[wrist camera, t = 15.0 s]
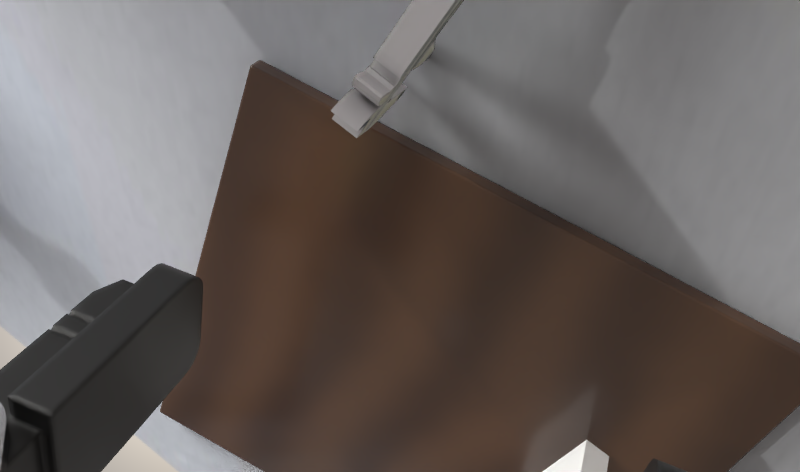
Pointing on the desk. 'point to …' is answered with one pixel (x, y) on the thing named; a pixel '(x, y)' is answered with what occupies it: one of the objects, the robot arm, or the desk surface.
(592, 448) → the eraser
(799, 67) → the desk surface
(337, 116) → the caliper
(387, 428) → the walnut board
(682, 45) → the desk surface
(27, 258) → the desk surface
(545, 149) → the desk surface
